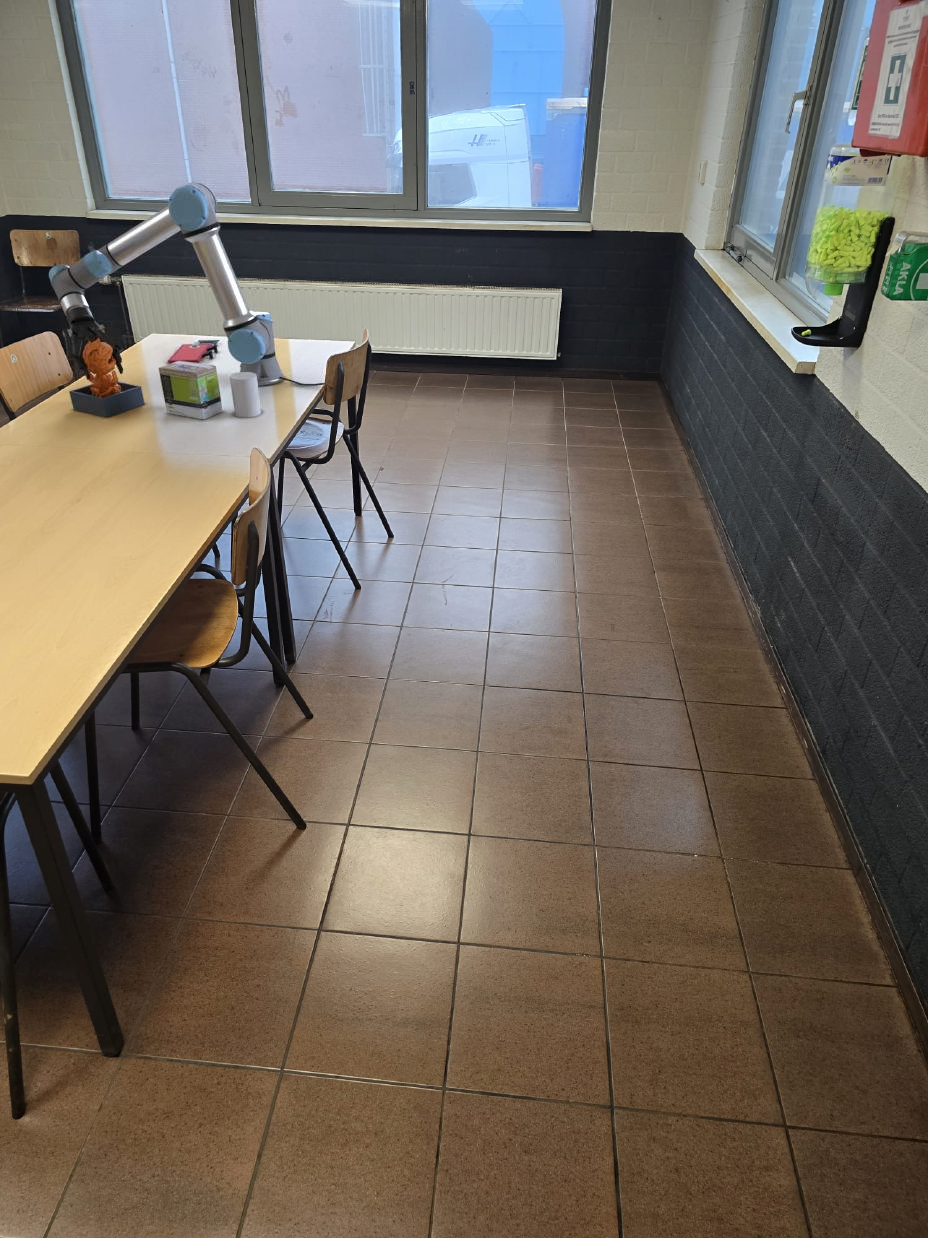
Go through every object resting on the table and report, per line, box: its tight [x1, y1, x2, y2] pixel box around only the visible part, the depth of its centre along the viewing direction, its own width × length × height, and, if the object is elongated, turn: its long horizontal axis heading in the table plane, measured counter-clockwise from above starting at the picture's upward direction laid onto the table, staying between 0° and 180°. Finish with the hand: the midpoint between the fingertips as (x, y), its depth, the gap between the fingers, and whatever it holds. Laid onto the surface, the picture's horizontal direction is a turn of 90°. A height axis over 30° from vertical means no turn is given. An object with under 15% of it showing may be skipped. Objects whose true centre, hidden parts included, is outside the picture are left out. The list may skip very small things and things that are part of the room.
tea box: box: [158, 361, 223, 420], centre depth 263 cm, size 15×10×15 cm
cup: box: [229, 371, 262, 418], centre depth 264 cm, size 8×8×12 cm
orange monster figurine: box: [82, 338, 121, 398], centre depth 264 cm, size 11×11×18 cm
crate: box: [68, 380, 146, 419], centre depth 269 cm, size 15×15×6 cm
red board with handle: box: [167, 339, 220, 364], centre depth 326 cm, size 30×3×15 cm
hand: (105, 374), depth 263 cm, fingers closed on orange monster figurine, 9 cm apart
